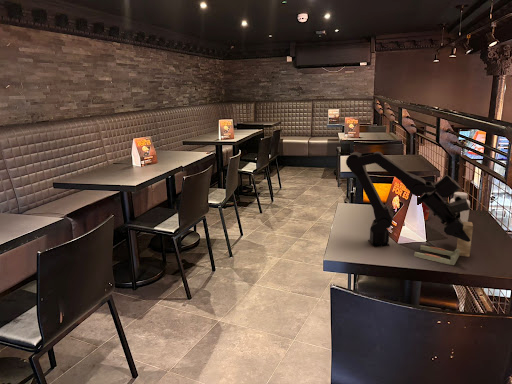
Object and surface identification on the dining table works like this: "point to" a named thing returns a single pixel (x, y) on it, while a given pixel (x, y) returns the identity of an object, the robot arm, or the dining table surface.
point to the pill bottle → (463, 214)
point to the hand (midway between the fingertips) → (468, 236)
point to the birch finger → (463, 245)
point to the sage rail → (451, 261)
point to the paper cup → (425, 210)
